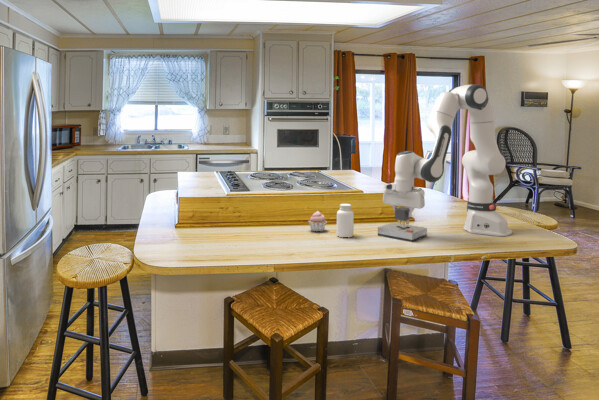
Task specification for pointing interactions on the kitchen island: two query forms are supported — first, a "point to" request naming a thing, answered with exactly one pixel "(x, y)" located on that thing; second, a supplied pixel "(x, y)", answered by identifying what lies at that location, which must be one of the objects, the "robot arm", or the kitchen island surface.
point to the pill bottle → (345, 221)
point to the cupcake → (317, 222)
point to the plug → (402, 215)
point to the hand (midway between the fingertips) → (402, 215)
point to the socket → (402, 232)
